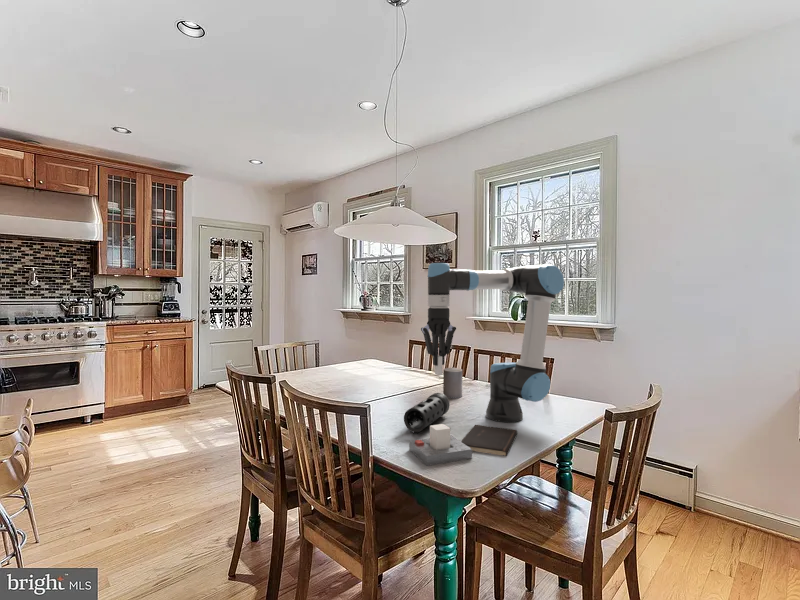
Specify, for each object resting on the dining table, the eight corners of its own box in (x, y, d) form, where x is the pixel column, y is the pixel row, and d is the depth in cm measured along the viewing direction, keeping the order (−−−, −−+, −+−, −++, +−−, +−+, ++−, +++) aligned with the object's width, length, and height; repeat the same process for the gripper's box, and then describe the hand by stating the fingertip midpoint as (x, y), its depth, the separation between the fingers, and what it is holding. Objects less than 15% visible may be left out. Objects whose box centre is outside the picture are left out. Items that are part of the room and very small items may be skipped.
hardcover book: (458, 450, 147) (458, 443, 147) (475, 430, 168) (475, 424, 168) (506, 457, 140) (506, 450, 140) (517, 435, 161) (517, 429, 161)
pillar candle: (439, 395, 222) (439, 366, 221) (455, 392, 226) (455, 364, 225) (449, 399, 213) (449, 369, 212) (466, 397, 217) (466, 367, 217)
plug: (443, 450, 145) (443, 423, 145) (450, 455, 141) (450, 428, 140) (429, 452, 143) (429, 425, 143) (436, 457, 139) (436, 430, 139)
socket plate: (451, 443, 152) (451, 433, 151) (472, 458, 138) (472, 446, 138) (409, 450, 146) (409, 438, 146) (426, 465, 133) (426, 453, 133)
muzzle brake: (402, 433, 163) (402, 406, 163) (430, 414, 188) (430, 390, 188) (426, 437, 159) (426, 409, 159) (451, 416, 184) (451, 392, 184)
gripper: (426, 308, 145) (426, 378, 145) (460, 307, 150) (460, 375, 150) (417, 307, 152) (417, 373, 152) (450, 306, 157) (450, 371, 157)
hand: (438, 374), depth 151 cm, fingers closed
